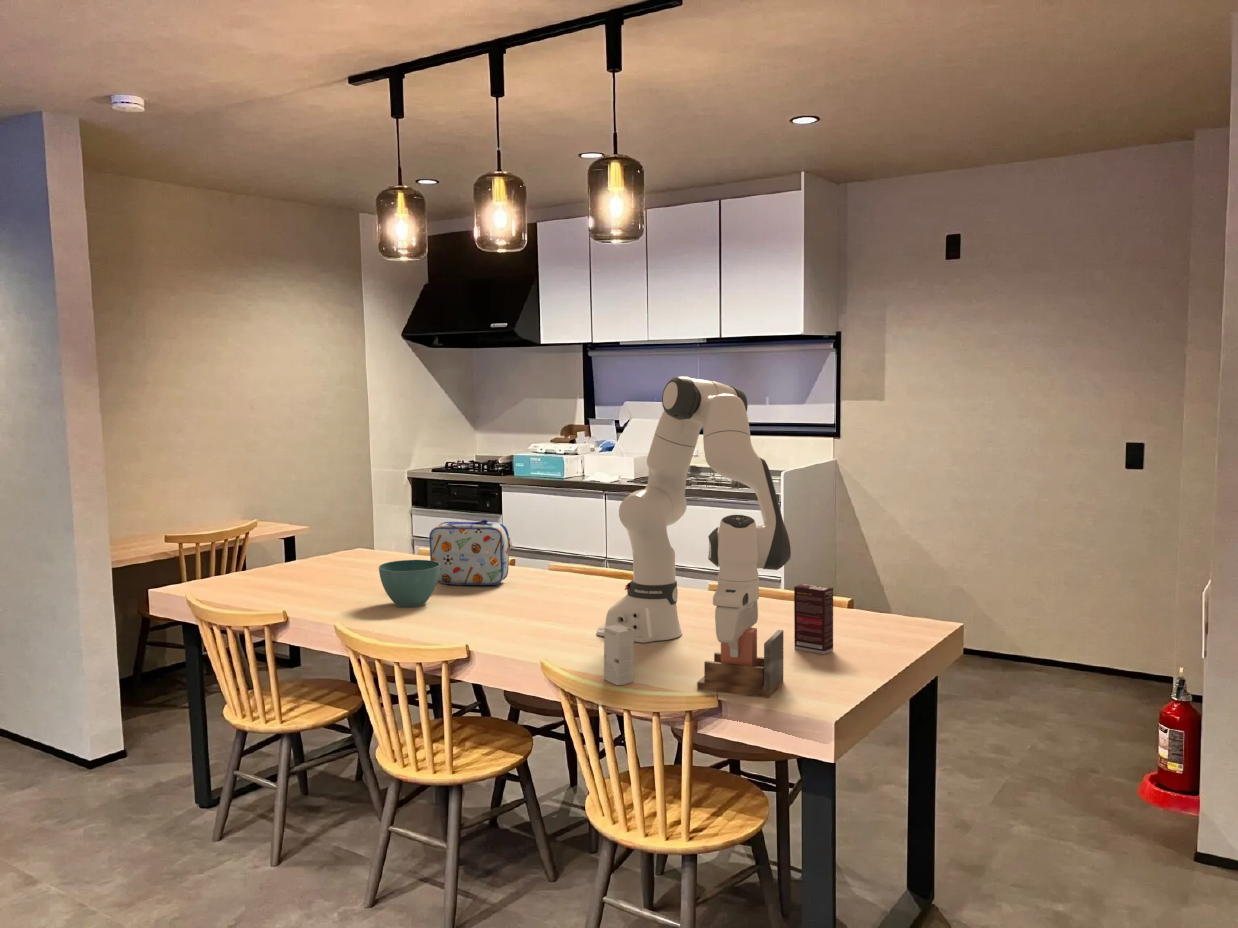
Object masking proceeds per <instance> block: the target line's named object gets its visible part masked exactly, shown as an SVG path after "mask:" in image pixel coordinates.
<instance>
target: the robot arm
mask: <svg viewBox="0 0 1238 928" xmlns="http://www.w3.org/2000/svg"><path fill="white" fill-rule="evenodd" d="M661 405H662V409H663V411H662V413H661V415H660V418H659V420H658V423H657V426H656V429H655V431H654V435H653V438H652V440H651V445H650V448H649V451H648V454H647V457H646V465H647V466H648V476H647V484H646V486H645V488H644V489H643V488H642V489H639V490H635V491H633V492H631V493H630V494H629V495H628V496H626V497H625V498H623V500H622V501H621V503H620V505H619V508H618V517H619V521H620V522H621V524H622V526H624V528H625V529H626V531H627V534H628V538H629V541H630V545H631V551H632V567H633V569H632V570H633V579H631V580H630V582H628V583H627V584H626V585H625V586H624V587H625V588H624V590H626V591H627V594H626V595H625V596H623V597H621V599H620V600H618V601H617V602H615V603H614V604H613V605H612V606H610V607H609V608H608V610H607V612H606V617H605V623H603V624H602V625H600V626H599V627H598V628H597V630H596V635H597V636H601V637H604V628H605V627H607V626H612V625H617V624H620V625H622V626H626V627H628V628H630V629H633V630H634V643H643V644H644V643H651V642H657V641H658V642H659V641H667V640H672V639H676V638H679V637H681V636H682V634H683V632H682V628H681V625H680V620H679V615H678V608H677V607H678V605H677V602H678V593H679V592H678V590H679V589H678V582H677V580H676V552H675V550H674V548H673V547H672V545H671V543H670V540H669V536H668V531H667V530H668V529H667V527H669V526H671V525H673V524H675V523H677V522H678V521H679V520H680V519H681V518H682V517H683V516H684V515H685V513H686V510H687V506H688V504H687V498H686V487H687V486H686V485H687V479H688V477H687V476H688V473H689V469H690V466H691V462H692V459H693V456H694V454H695V453H694V452H695V450H696V447H697V444H698V443H697V442H698V439H699V436H700V432H701V429H703V431H702V434H703V436H702V437H703V442H702V443H703V451H704V457H705V462H706V463H707V465H708V467H710V468H711V470H713V471H714V472H715V473H716V474H718V475H720V476H722V477H723V478H726V479H729V480H732V481H735V482H738V483H741V484H742V485H745V486H746V487H748V488H750V489H751V490H752V491H753V492H754V493H755V496H756V497H757V501H758V506H759V509H760V513H761V516H762V517H761V518H762V521H763V525H762V524H761V525H757V523H756V521H755V519H754V518H753V517H750V516H748V515H744V514H729V515H727V516H724V517H722V518H721V520H720V524H719V526H717V527H716V528H714V529H713V530H712V532H710V534H709V535H708V536H707V537H708V547H709V548H708V560H709V561H710V562H711V563H712V564H713V565H714V566H716V567H717V568H719V571H718V574H717V585H716V586H717V587H716V590H715V592H714V594H713V597H712V604H713V606H715V611H714V613H715V614H714V619H715V620H714V622H715V624H714V625H715V635H716V639H717V641H718V642H719V643H721V642H722V643H728V645H729V648H730V656H731V657H738V656H739V655H740V648H739V645H738V642H739V638H740V637H741V636H742V635H743V634H744V631H745V630H747V629H748V628H749V627H750V628H753V626H755V624H757V623H758V619H759V609H758V607H759V606H758V600H759V598H760V597H759V596H760V595H759V594H760V593H759V592H760V591H759V589H760V588H759V587H760V585H759V584H760V583H759V581H760V579H759V578H760V577H759V572H758V569H763V570H773V571H774V570H775V571H778V570H780V569H781V568H782V567H784V566H785V565H787V563H788V562H789V561H790V560H791V557H792V543H791V539H790V537H789V536H790V535H789V533H788V530H787V527H786V525H785V521H784V519H783V514H782V511H781V507H780V504H779V498H778V496H777V492H776V488H775V484H774V481H773V477H772V474H771V471H770V467H769V465H768V464H767V461H766V460H765V459H764V458H761V457H760V456H759V455H758V454H757V452H756V451H755V449H754V447H753V443H752V440H751V429H750V424H749V423H750V422H749V417H748V414H747V412H748V398H747V396H746V393H744V391H742V390H741V389H739V388H738V387H736V386H733V385H727V384H724V383H721V382H718V381H714V380H711V379H710V380H706V379H702V378H701V379H699V378H691V377H689V376H676V377H675V376H674V377H672V378H671V379H670V380H669V381H668V382H667V383H666V385H665V386H664V389H663V392H662V395H661Z"/></svg>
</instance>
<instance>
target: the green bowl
mask: <svg viewBox="0 0 1238 928" xmlns="http://www.w3.org/2000/svg"><path fill="white" fill-rule="evenodd" d="M378 572H379V573H378V574H379V578H380V581H381V585H382V587H383V589H384V591H385V593H386V595H387V596H388V597H389V599H390V600H391V601H392V603H393V604H394V605H396V607H399V608H406V609H407V608H408V609H409V608H418V607H422V606H424V605H425V604H426V603H427V602H428V600H430V598H431V596H432V594H433V593H434V591H435V589H436V586H437V584H438V582H437V581H438V578H439V573H440V563H439V562H436V561H430V560H429V559H402V560H395V561H394V560H393V561H388V562H384V563H381V564H380V565H379V566H378Z"/></svg>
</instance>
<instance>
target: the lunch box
mask: <svg viewBox="0 0 1238 928" xmlns="http://www.w3.org/2000/svg"><path fill="white" fill-rule="evenodd" d="M489 521H490V520H488V519H483V520H480V521H444V522H441V523H440V524H438V525H437V526H435V527H433V528H432V529H431V530H430V532H429V537H428V542H429V543H428V544H429V557H430V558H429V559H430V561H436V562H439V563H440V573H439V578H438V581H437V583H439V584H442V585H443V584H444V585H457V586H490V585H491V586H493V585H499V584H500V583H501V582H502V581H504V580H505V579H507V577H508V574H509V563H510V562H509V559H510V556H509V553H510V552H511V549H512V548H513V547H514V546H513V542H512V540H511V537H510V534H509V531H508V529H507V527H506V526H505V525H504V524H502V523H499V522H489Z"/></svg>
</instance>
